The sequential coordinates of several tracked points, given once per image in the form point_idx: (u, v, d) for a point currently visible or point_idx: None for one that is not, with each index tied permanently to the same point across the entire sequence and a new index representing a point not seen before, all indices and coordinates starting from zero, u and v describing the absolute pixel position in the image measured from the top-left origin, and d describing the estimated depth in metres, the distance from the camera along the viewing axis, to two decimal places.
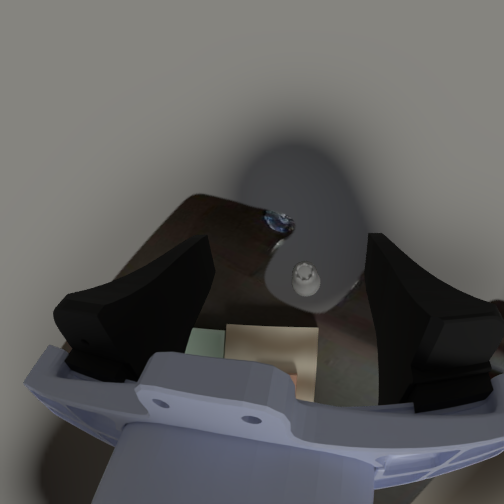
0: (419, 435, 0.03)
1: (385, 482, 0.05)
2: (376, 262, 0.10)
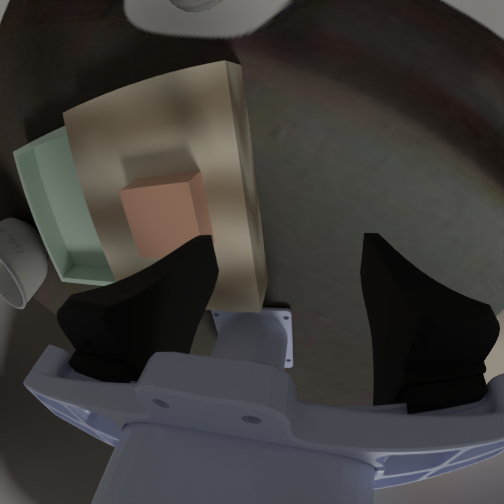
0: (419, 435, 0.03)
1: (385, 482, 0.05)
2: (371, 262, 0.10)
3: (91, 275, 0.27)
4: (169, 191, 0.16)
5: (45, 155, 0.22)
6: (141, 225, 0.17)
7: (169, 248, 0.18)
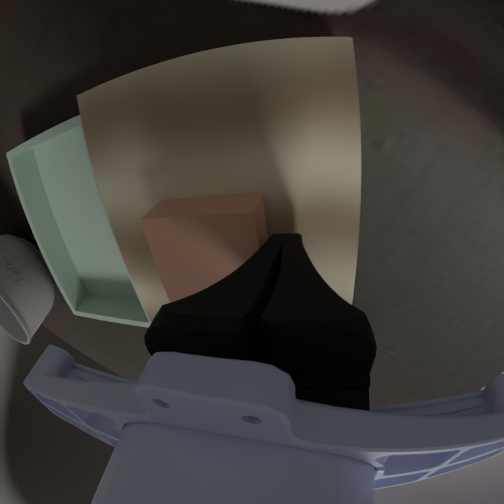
0: (419, 435, 0.03)
1: (385, 482, 0.05)
2: None
3: (113, 310, 0.22)
4: (222, 224, 0.11)
5: (48, 157, 0.17)
6: (175, 268, 0.13)
7: None
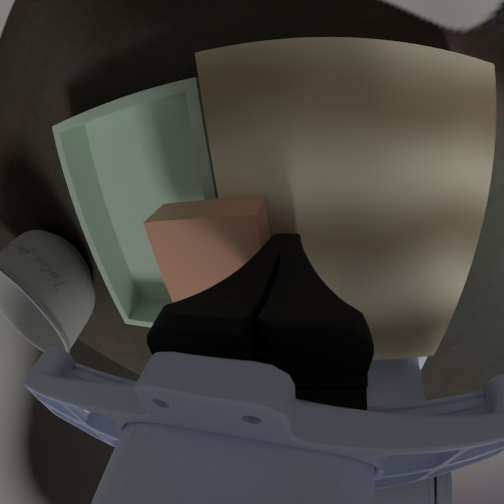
0: (419, 435, 0.03)
1: (385, 482, 0.05)
2: None
3: None
4: (224, 226, 0.11)
5: (108, 135, 0.15)
6: (178, 270, 0.13)
7: None
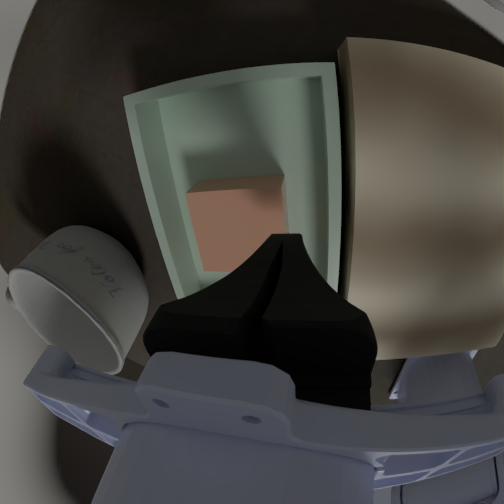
0: (419, 435, 0.03)
1: (385, 482, 0.05)
2: None
3: None
4: None
5: (191, 115, 0.14)
6: None
7: None
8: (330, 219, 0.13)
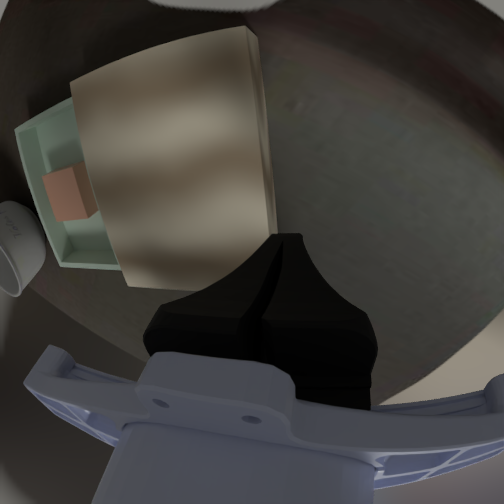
0: (419, 435, 0.03)
1: (385, 482, 0.05)
2: None
3: (91, 259, 0.26)
4: None
5: (47, 133, 0.21)
6: None
7: None
8: (90, 181, 0.20)
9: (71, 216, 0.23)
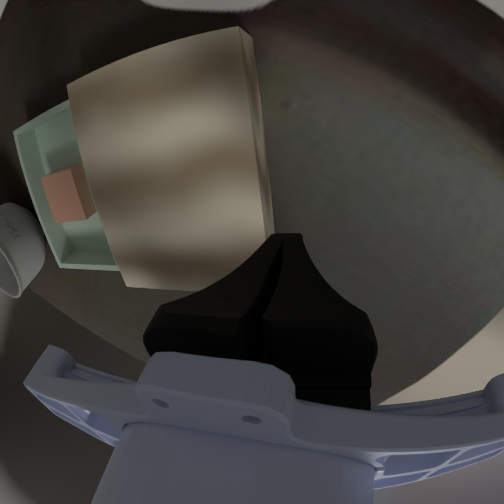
0: (419, 435, 0.03)
1: (385, 482, 0.05)
2: None
3: (90, 260, 0.26)
4: None
5: (46, 135, 0.21)
6: None
7: None
8: None
9: (70, 218, 0.23)
